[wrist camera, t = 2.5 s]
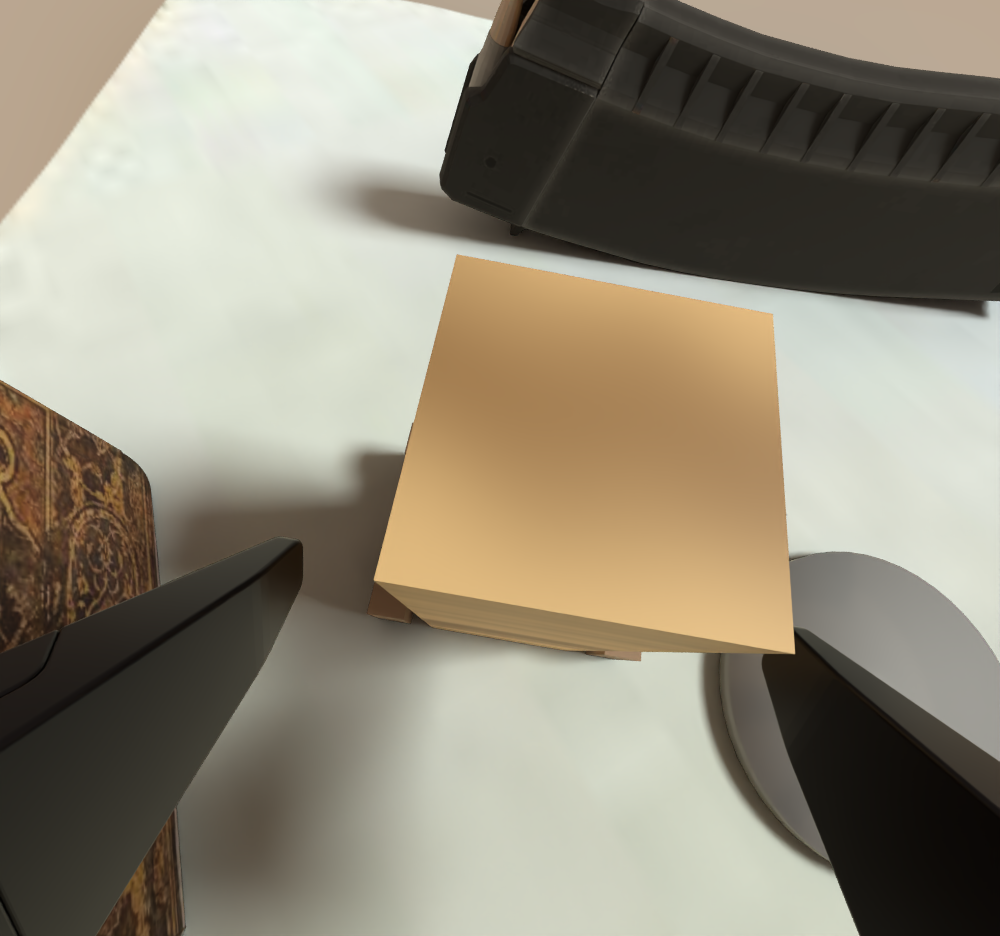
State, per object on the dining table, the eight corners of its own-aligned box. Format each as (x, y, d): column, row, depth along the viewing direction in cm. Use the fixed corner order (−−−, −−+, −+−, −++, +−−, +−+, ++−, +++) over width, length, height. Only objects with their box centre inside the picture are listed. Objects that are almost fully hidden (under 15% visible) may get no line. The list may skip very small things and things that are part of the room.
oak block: (564, 650, 18) (795, 653, 6) (432, 627, 18) (373, 579, 5) (577, 522, 19) (772, 313, 7) (457, 500, 19) (456, 254, 7)
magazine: (1286, 117, 18) (656, -579, 9) (1332, 175, 17) (659, -557, 8) (844, 348, 34) (437, 172, 24) (852, 388, 32) (427, 218, 23)
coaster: (849, 958, 15) (869, 974, 14) (664, 628, 18) (673, 627, 17) (1066, 775, 17) (1093, 781, 17) (869, 513, 21) (885, 508, 20)
